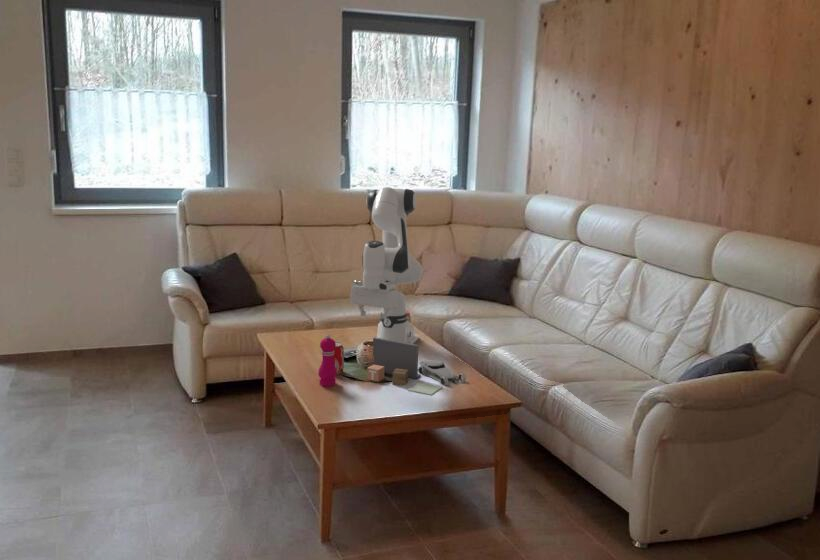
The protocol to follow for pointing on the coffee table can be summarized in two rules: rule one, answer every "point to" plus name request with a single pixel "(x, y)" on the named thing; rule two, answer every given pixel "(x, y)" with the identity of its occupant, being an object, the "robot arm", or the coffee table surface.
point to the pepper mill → (327, 362)
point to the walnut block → (400, 377)
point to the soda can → (338, 357)
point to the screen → (396, 356)
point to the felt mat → (425, 388)
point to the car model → (440, 373)
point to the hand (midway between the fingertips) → (373, 317)
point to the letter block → (375, 373)
